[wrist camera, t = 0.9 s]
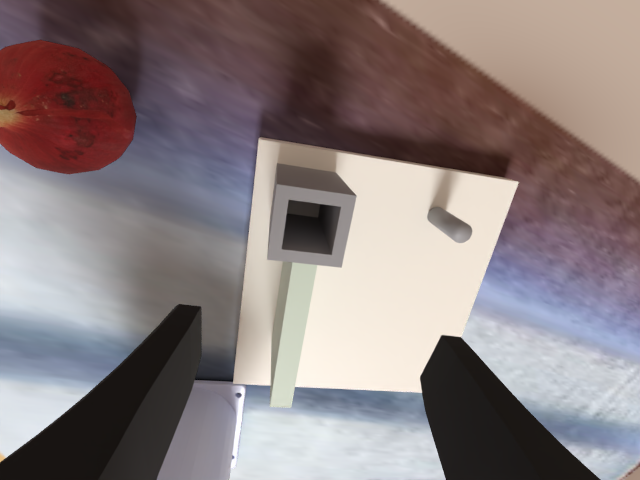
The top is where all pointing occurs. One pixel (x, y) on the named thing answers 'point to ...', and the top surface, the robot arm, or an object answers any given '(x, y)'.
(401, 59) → the top surface
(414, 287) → the board
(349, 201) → the door leaf
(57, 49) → the onion
